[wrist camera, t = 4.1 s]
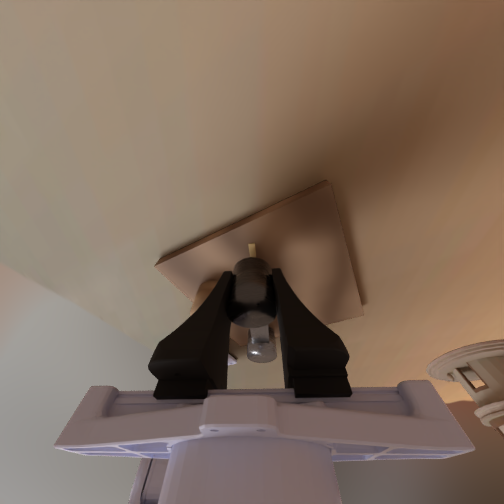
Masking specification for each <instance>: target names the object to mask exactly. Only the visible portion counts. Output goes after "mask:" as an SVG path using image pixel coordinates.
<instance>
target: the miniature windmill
mask: <svg viewBox="0 0 504 504" xmlns="http://www.w3.org/2000/svg"><path fill="white" fill-rule="evenodd" d="M426 371H427V373H428V375H429V376H430V377H433V378H435V379H439V380H445V381H452V382H460V383H461V385H462V386H463V387H464V389H465V390H466V391H467V392H468V394H469V395H470V396H471V397H472V399H473V400H474V401H475V402H476V404H477V405H478V406H479V407H480V408H479V409H477V410H476V411H475V412H474V413H475V415H476V416H477V417H479V418H480V419H481V422H482V424H483V425H486V426H492V427H493V428H494V430H497V431H498V432H499V433H500V435H501V436H502V437H503V438H504V340H495V341H488V342H482V343H477V344H473V345H469V346H465V347H462V348H459V349H456V350H454V351H451V352H448V353H446V354H444V355H442V356H440V357H438V358H437V359H435V360H434V361H432V362H431V363H430V364H429V365H428V367H427V369H426ZM480 379H481V380H482V381H483V382H484V384H485V385H484V386H481V387H478V388H475V387H474V386H473V384H472V383H471V382H470V381H474V380H480Z"/></svg>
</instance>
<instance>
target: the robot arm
mask: <svg viewBox="0 0 504 504" xmlns="http://www.w3.org/2000/svg"><path fill="white" fill-rule="evenodd" d="M232 277H233V273H232V271H224V272H223V274H222V276H221V277H220V279H219V281H218V282H217V284H216V285H215V287H214V288H213V290H212V291H211V293H210V294H209V296H208V297H207V298H206V300H205V301H204V302H203V303H202V304H201V306H200V307H199V308H198V309H197V310H196V311H195V312H194V313H193V314H192V315H191V316H190V317H189V318H188V319H187V320H186V321H185V322H184V323H183V324H182V325H181V326H179V327H178V328H177V329H176V330H175V331H174V332H172V333H171V334H170V335H168V336H167V337H166V338H164V339H163V340H162V341H160V342H159V344H158V345H157V347H156V349H155V351H154V353H153V355H152V358H151V360H150V362H149V365H148V369H149V370H150V372H151V373H152V374H153V375H154V376H155V377H156V378H157V379H158V383H157V386H156V388H155V391H119V390H118V389H117V388H115V387H113V386H91V387H90V388H89V390H88V392H87V393H86V395H85V396H84V398H83V400H82V401H81V403H80V404H79V406H78V407H77V409H76V411H75V412H74V414H73V416H72V417H71V419H70V420H69V422H68V423H67V425H66V427H65V428H64V430H63V431H62V433H61V435H60V436H59V438H58V439H57V441H56V443H55V444H54V448H57V449H61V450H65V451H69V452H74V453H77V454H82V455H86V456H122V457H140V458H142V459H141V462H140V465H139V468H138V471H137V474H136V477H135V480H134V483H133V487H132V490H131V494H130V500H129V503H128V504H342V500H341V496H340V492H339V487H338V483H337V479H336V474H335V471H334V466H333V461H358V460H384V459H386V460H387V459H445V458H448V457H452V456H456V455H460V454H463V453H467V452H471V451H474V450H475V447H474V445H473V444H472V443H471V441H470V440H469V438H468V437H467V436H466V434H465V432H464V431H463V429H462V428H461V426H460V425H459V423H458V422H457V420H456V419H455V418H454V416H453V415H452V413H451V412H450V410H449V409H448V407H447V406H446V404H445V403H444V401H443V400H442V398H441V397H440V395H439V394H438V392H437V391H436V390H435V388H434V387H433V385H432V384H431V382H430V381H428V380H407V381H402V382H400V383H399V384H398V385H397V387H353V388H351V387H350V384H349V382H348V379H347V376H348V374H347V371H346V368H345V367H346V364H347V362H348V360H349V354H348V351H347V349H346V347H345V345H344V343H343V342H342V340H341V338H340V337H339V336H338V335H337V334H336V333H334V332H333V331H332V330H330V329H329V328H328V327H327V326H325V325H324V324H323V323H322V322H321V321H320V320H319V319H318V318H317V317H316V316H314V315H313V314H312V313H311V312H310V311H309V310H308V308H307V307H306V306H305V305H304V304H303V303H302V302H301V301H300V299H299V298H298V297H297V295H296V294H295V293H294V291H293V290H292V288H291V287H290V285H289V284H288V282H287V280H286V279H285V277H284V275H283V273H282V270H281V269H280V268H272V280H273V287H274V295H275V303H276V312H277V314H276V315H277V320H278V325H279V331H280V341H281V351H282V361H283V371H284V382H285V389H227V370H228V365H232V364H236V362H237V360H236V359H234V358H233V357H232V356H231V355H230V354H228V352H229V337H230V328H231V321H230V319H229V318H228V316H227V308H228V301H229V295H230V289H231V283H232ZM143 490H144V491H143ZM142 493H143V494H142Z"/></svg>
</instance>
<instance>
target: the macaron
mask: <svg viewBox="0 0 504 504" xmlns="http://www.w3.org/2000/svg"><path fill="white" fill-rule="evenodd" d="M217 282H218V281H217V280H210V281H206V282H203V283H202V284H201V285H200V286H199V288H198V291H197V294H196V296H195V299H194V302H193V305H192V308H191V311H190V315H192V314H193V313H194V312H195V311H196V310H197V309H198V308H199V307H200V306H201V304H202V303H203V302H204V301H205V300H206V298H207V297H208V296H209V294H210V293H211V291H212V290H213V288H214V287H215V285H216V284H217Z"/></svg>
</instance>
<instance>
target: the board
mask: <svg viewBox="0 0 504 504" xmlns="http://www.w3.org/2000/svg"><path fill="white" fill-rule="evenodd" d="M248 257H257V258H260V259H263V260H265V261H266V262H267V263H268V264H269V265H270V267H271V269H272V268H280V269H281V270H282V273H283V275H284V277H285V279H286V280H287V282H288V284H289V285H290V287H291V288H292V290H293V291H294V293H295V294H296V295H297V297H298V298H299V299H300V301H301V302H302V303H303V304H304V305H305V306H306V307H307V308H308V310H309V311H310V312H311V313H312V314H313V315H314V316H316V317H317V318H318V319H319V320H320V321H321V322H322V323H323V324H324V325H327V324H331V323H335V322H339V321H343V320H347V319H351V318H355V317H359V316H363V315H364V313H363V309H362V305H361V301H360V297H359V293H358V289H357V285H356V281H355V277H354V273H353V269H352V265H351V261H350V257H349V253H348V249H347V245H346V241H345V237H344V233H343V229H342V225H341V221H340V217H339V213H338V210H337V206H336V202H335V198H334V194H333V190H332V186H331V184H330V183H329V182H328V181H327V180H325V181H323V182H321V183H319V184H316V185H314V186H312V187H310V188H308V189H306V190H304V191H302V192H300V193H297V194H295V195H293V196H291V197H289V198H287V199H285V200H283V201H281V202H279V203H276V204H274V205H272V206H270V207H268V208H266V209H264V210H262V211H260V212H258V213H255V214H253V215H251V216H249V217H247V218H245V219H243V220H241V221H239V222H237V223H234V224H232V225H230V226H228V227H226V228H224V229H222V230H220V231H218V232H216V233H213V234H211V235H209V236H207V237H205V238H203V239H201V240H199V241H197V242H195V243H192V244H190V245H188V246H186V247H184V248H182V249H180V250H178V251H176V252H174V253H171V254H169V255H167V256H165V257H163V258H161V259H159V260H158V262H157V263H156V265H155V266H154V267H155V268H156V269H157V270H158V271H160V272H161V273H162V274H163V275H164V276H165V277H166V278H167V279H168V280H169V281H170V282H171V283H172V284H174V285H175V286H176V287H177V288H178V289H179V290H180V291H181V292H182V293H183V294H184V295H185V296H186V297H187V298H189V299H190V300H191V301H192V302H194V299H195V296H196V294H197V291H198V288H199V286H200V285H201V284H202V283H203V282H206V281H210V280H217V281H219V279H220V277H221V276H222V274H223V272H224V271H232V273H233V269H234V266H235V265H236V263H237V262H238V261H240V260H242V259H244V258H248ZM268 326H269V327H271V328H273V329H274V332H275V338H276V337H280V331H279V325H278V320H277V315H276V318H275V319H274V321H273V322H272V323H270V324H268ZM249 329H250V328H244V327H241V326H238V325H236V324H234V323H233V322H231V328H230V338H232V339H233V340H234V341H235V342H236V343H237V344H238V345H239V346H244V345H248V330H249Z"/></svg>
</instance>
